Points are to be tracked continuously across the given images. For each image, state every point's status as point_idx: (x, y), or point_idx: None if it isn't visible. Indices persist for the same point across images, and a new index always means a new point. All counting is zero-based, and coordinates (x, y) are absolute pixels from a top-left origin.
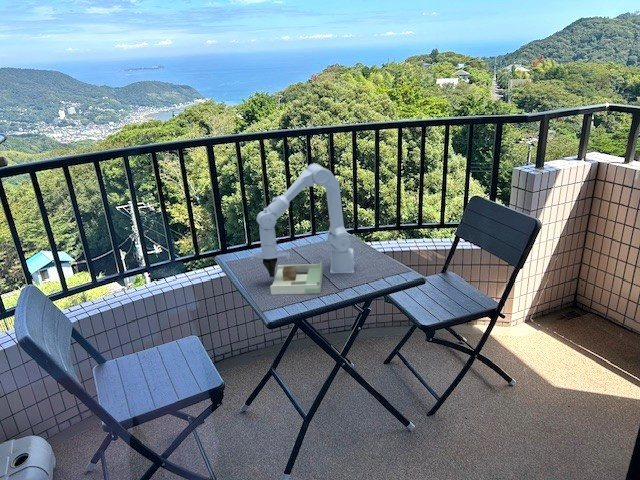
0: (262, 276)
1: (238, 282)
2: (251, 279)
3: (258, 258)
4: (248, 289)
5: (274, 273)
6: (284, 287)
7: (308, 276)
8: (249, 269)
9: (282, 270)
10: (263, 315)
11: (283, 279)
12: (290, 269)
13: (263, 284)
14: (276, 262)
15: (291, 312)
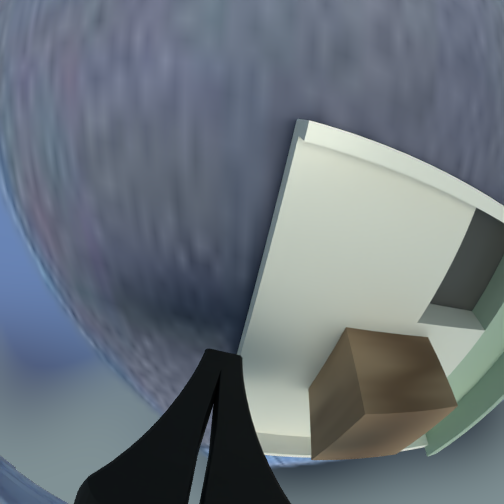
0: (128, 147)
1: (14, 219)
2: (60, 191)
3: (46, 498)
4: (87, 321)
5: (242, 366)
6: (293, 448)
7: (470, 356)
8: (46, 16)
9: (353, 200)
10: (205, 454)
11: (310, 400)
12: (386, 445)
13: (158, 296)
14: (273, 478)
15: (290, 461)
